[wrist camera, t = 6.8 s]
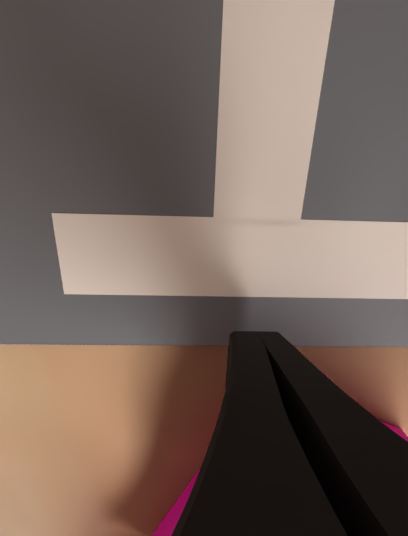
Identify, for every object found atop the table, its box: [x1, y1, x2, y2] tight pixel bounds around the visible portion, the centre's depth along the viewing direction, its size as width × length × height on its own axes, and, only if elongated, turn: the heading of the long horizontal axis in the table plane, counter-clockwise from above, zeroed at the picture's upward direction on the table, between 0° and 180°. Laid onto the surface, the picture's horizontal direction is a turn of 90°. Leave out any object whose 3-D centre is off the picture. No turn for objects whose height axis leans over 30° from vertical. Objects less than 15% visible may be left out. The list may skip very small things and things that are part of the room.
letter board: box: [0, 0, 408, 347], centre depth 7 cm, size 16×14×1 cm
